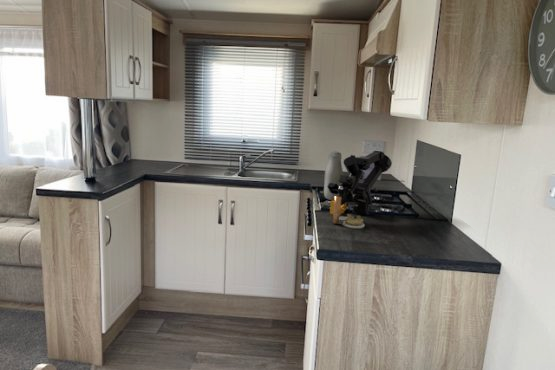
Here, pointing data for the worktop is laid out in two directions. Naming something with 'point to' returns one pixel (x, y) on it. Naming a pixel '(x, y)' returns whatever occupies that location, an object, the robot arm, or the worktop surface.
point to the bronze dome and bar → (349, 219)
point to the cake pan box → (366, 172)
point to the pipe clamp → (341, 207)
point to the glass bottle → (332, 173)
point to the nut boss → (353, 226)
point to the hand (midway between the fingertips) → (339, 205)
